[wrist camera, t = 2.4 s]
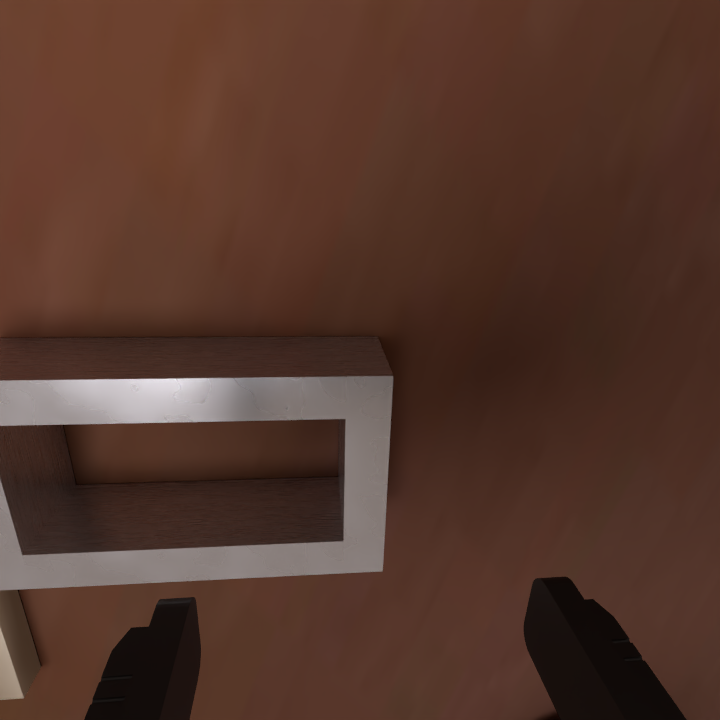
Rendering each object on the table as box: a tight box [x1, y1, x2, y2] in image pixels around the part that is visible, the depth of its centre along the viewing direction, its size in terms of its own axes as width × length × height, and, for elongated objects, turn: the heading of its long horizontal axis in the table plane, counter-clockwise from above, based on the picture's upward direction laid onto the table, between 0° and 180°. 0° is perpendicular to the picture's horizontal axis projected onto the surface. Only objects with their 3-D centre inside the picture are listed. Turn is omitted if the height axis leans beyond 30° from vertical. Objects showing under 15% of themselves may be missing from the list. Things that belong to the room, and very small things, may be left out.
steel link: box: [0, 337, 393, 590], centre depth 18 cm, size 14×8×4 cm, turn 88°
